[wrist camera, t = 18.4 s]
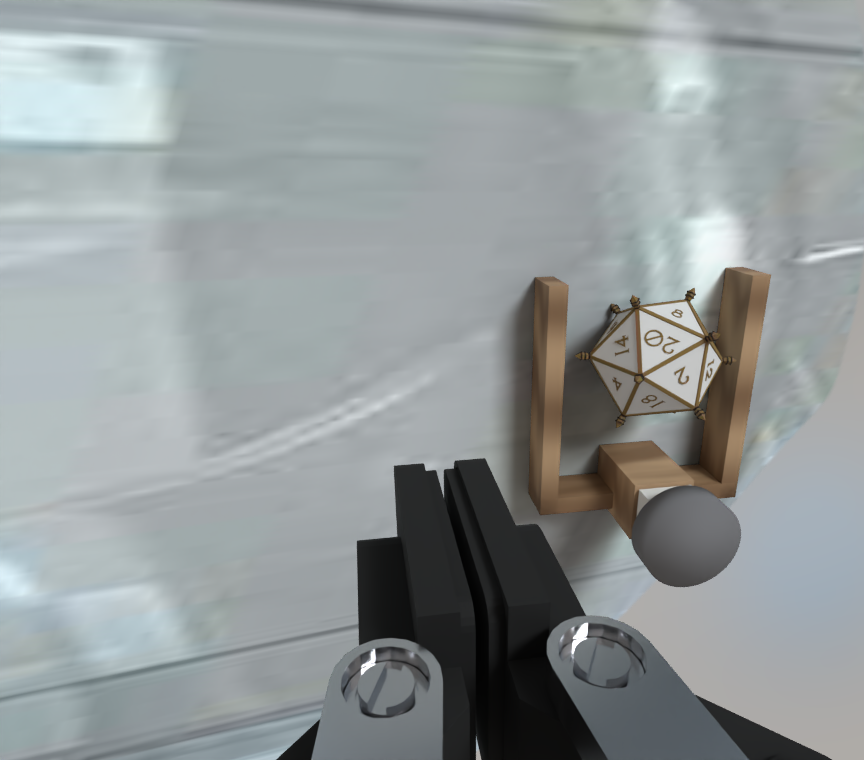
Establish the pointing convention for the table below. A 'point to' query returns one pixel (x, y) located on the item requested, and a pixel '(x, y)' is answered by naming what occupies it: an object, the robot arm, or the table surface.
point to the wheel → (684, 534)
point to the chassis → (643, 461)
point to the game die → (656, 358)
